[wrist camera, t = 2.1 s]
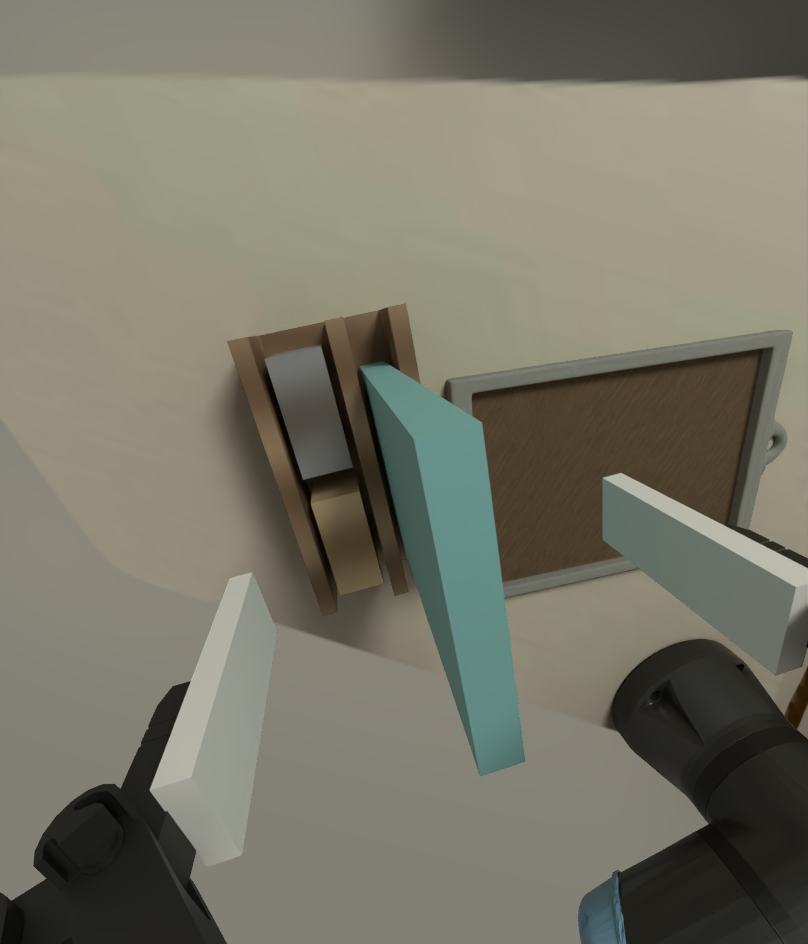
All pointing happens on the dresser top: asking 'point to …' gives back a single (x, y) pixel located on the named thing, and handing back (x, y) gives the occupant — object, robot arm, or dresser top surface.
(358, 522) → the offcut oak
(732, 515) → the framed cork board
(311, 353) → the offcut charcoal
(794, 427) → the dresser top surface
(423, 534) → the teal rectangular slab
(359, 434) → the rack
